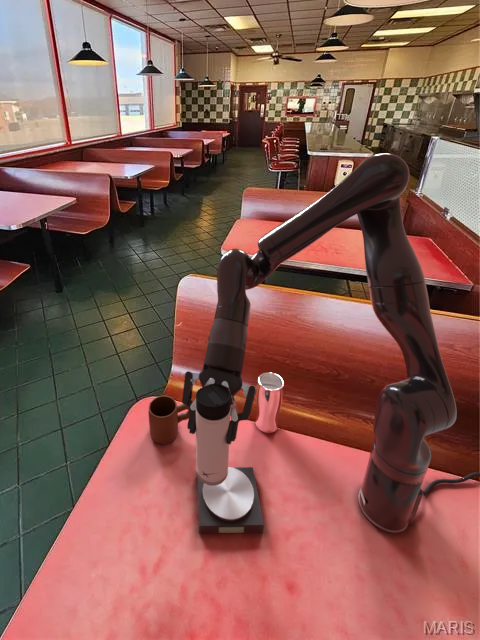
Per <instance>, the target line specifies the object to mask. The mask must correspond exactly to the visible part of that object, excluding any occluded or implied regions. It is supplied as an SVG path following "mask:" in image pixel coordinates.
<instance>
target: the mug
mask: <svg viewBox="0 0 480 640" xmlns="http://www.w3.org/2000/svg"><path fill="white" fill-rule="evenodd" d="M186 410H187V411H186ZM184 411H186V412H184ZM189 415H190V408H189V407H188V406H186V405H184V404H183V403H181V404H179V405H178V404H177V401H176V400H175V399H174V398H173V397H172V396H170V395H159V396H156V397H155V398H153V399H152V400H151V401H150V402H149V404H148V424H149V425H148V426H149V435H150V438H151V439H152V440H153V441H154V442H156V443H157V444H161V445H165V444H169V443H171V442H173V441H174V440H175V438H176V437H177V436H178V433H179V423H181V422H183V421H186V420H189Z"/></svg>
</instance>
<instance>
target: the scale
mask: <svg viewBox="0 0 480 640" xmlns="http://www.w3.org/2000/svg"><path fill="white" fill-rule="evenodd" d="M234 468H235V469H238V470H239V471H241V472H242V473H244V474H245V475H246V476H247V478H248V479H249V480H250V482H251V484H252V487H253V490H254V502H253V506H252V509H251V510H250V512H249V513H248V514H247V516H245V517H244V518H242V519H241V520H238V521H234V522H227V521H223V520H220V519H218V518H217V517H215V516H214V515H213V514H212V513H211V512H210V511H209V510H208V508H207V507H206V505H205V502H204V499H203V485H204V483H203V482H202V481H201V480H200V479H199V477H198V475H197V474H196V475H197V507H198V508H197V512H198V513H197V515H198V534H238V533H239V534H240V533H242V534H243V533H264V528H265V527H264V526H265V524H264V519H263V514H262V508H261V503H260V498H259V492H258V487H257V482H256V476H255V471H254V467H252V466H247V467H246V466H245V467H234Z"/></svg>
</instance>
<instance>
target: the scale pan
mask: <svg viewBox="0 0 480 640" xmlns="http://www.w3.org/2000/svg"><path fill="white" fill-rule="evenodd" d="M235 468H236V467H232V466H228V475H227V477H226V479H225V480H224V482H222V483H221V484H219V485H215V486H211V485H207V484H205V483H204V485H203V499H204V502H205V505H206V507H207V508H208V510H209V511H210V512H211V513H212V514H213V515H214V516H215V517H217V518H218V519H220V520H223V521H227V522H234V521H238V520H241V519H242V518H244V517H245V516H247V514H248V513H249V512H250V510H251V509H252V506H253V502H254V490H253V487H252V484H251V482H250V480H249V479H248V478H247V476H246V475H245V474H244V473H242V472H241V471H239V470H238V469H235Z"/></svg>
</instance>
